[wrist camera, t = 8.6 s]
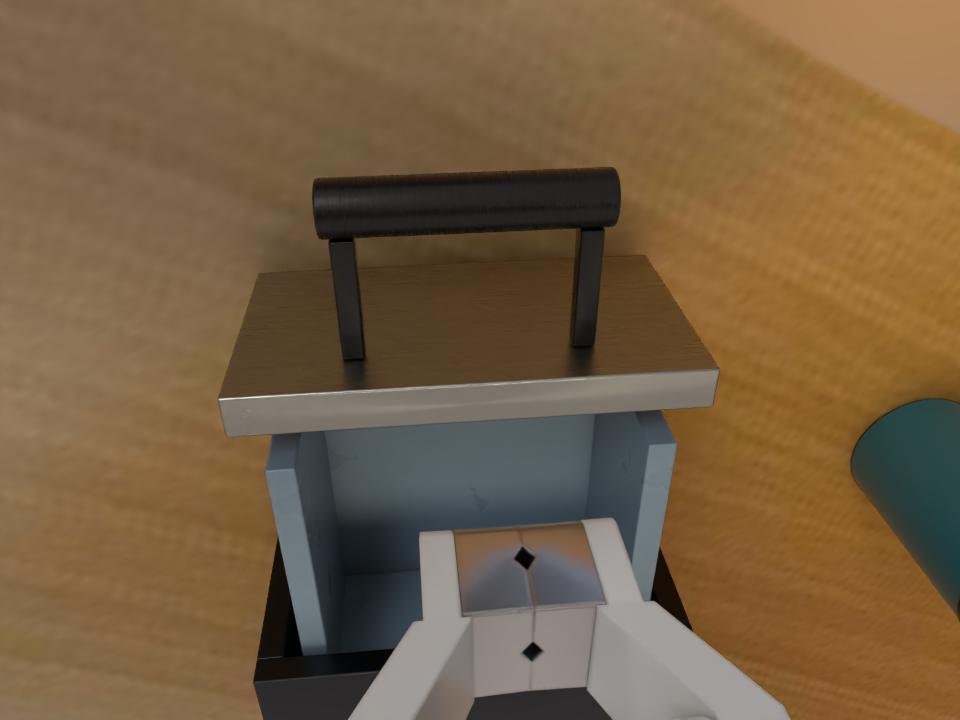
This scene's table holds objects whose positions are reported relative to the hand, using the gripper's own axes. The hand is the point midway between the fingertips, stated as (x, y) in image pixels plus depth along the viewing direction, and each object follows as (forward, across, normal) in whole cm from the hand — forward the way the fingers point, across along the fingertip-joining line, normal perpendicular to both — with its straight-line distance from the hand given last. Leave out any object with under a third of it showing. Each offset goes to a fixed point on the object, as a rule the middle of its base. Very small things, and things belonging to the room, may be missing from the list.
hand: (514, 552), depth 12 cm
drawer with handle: (+14, 0, +6) cm, 15 cm away
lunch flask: (+15, -19, +12) cm, 27 cm away
